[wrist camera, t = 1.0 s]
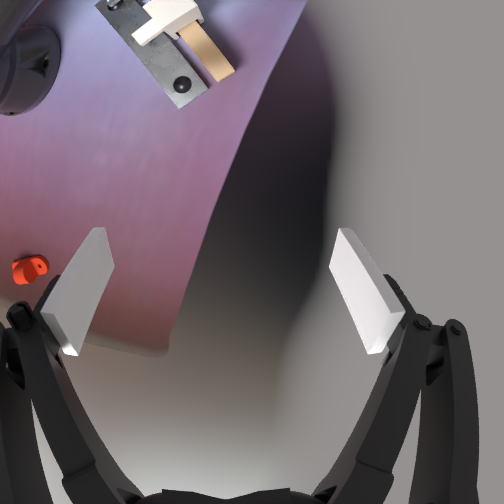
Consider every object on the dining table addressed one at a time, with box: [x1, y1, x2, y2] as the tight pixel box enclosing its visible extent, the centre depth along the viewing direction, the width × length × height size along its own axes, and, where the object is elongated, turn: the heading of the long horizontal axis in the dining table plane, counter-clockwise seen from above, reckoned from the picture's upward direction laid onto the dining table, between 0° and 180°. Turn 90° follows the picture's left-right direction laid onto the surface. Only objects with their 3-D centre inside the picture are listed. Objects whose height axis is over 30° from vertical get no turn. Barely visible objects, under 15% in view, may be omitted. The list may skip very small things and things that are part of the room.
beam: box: [150, 0, 235, 83], centre depth 24 cm, size 22×2×3 cm, turn 33°
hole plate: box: [95, 0, 208, 109], centre depth 26 cm, size 22×4×1 cm, turn 33°
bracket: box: [12, 255, 49, 284], centre depth 41 cm, size 12×4×5 cm, turn 97°
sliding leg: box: [131, 0, 204, 46], centre depth 22 cm, size 4×8×8 cm, turn 123°
